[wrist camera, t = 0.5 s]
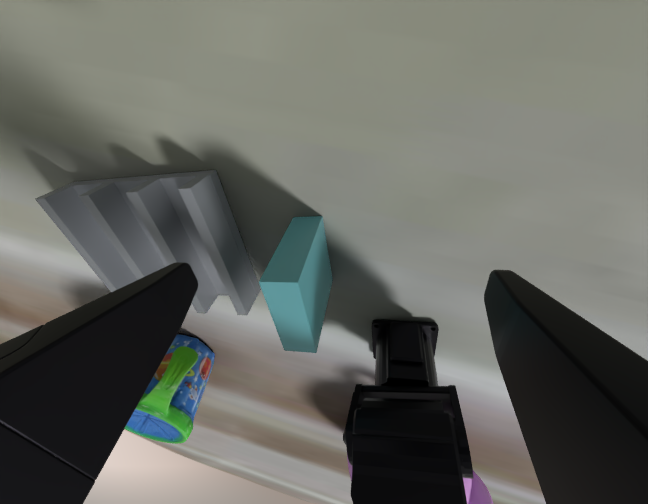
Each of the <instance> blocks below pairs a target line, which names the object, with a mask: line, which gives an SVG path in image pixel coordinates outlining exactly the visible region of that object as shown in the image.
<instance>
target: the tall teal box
mask: <svg viewBox="0 0 648 504" xmlns="http://www.w3.org/2000/svg"><path fill="white" fill-rule="evenodd" d="M332 281H333V278H332V272H331V266H330V260H329V254H328V248H327V242H326V235H325V229H324V223H323V217H322V216H311V217H293V219H292V221H291V223H290V224H289V226H288V228H287V230H286V232H285V234H284V236H283V238H282V239H281V241H280V243H279V245H278V247H277V249H276V251H275V253H274V254H273V256H272V258H271V260H270V262H269V264H268V266H267V268H266V269H265V271H264V273H263V275H262V277H261V279H260V281H259V284H260V286H261V289H262V292H263V294H264V297H265V300H266V302H267V305H268V308H269V310H270V313H271V316H272V318H273V321H274V324H275V326H276V329H277V332H278V335H279V337H280V340H281V343H282V345H283V348H284V350H285V351H298V352H312V353H316V352H317V348H318V343H319V339H320V335H321V330H322V326H323V321H324V317H325V312H326V308H327V303H328V299H329V294H330V290H331V286H332Z"/></svg>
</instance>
